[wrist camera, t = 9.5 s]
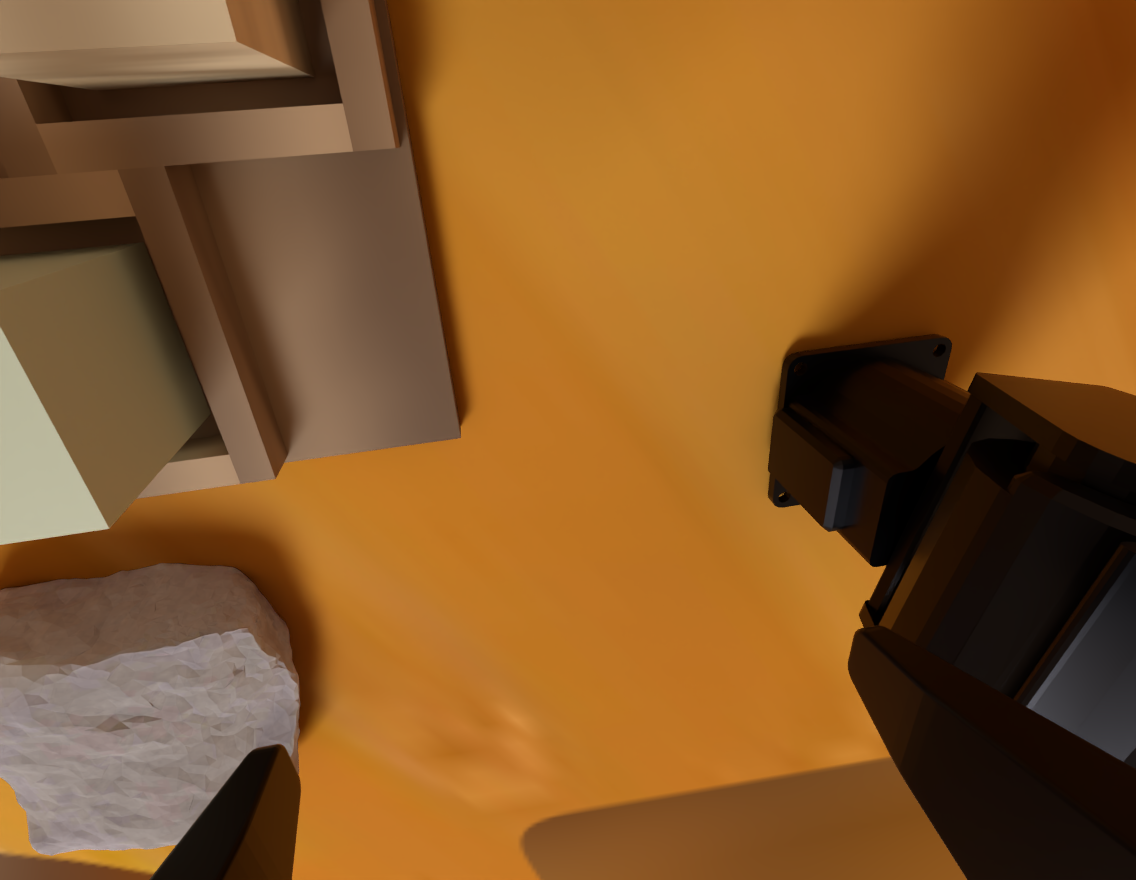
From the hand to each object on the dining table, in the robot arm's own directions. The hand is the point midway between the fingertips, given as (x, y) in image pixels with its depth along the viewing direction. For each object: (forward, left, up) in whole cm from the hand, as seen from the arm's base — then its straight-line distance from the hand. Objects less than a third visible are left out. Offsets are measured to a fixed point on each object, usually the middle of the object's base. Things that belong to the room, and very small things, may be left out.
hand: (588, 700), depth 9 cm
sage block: (+12, -3, -12) cm, 17 cm away
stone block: (+14, +11, -13) cm, 22 cm away
